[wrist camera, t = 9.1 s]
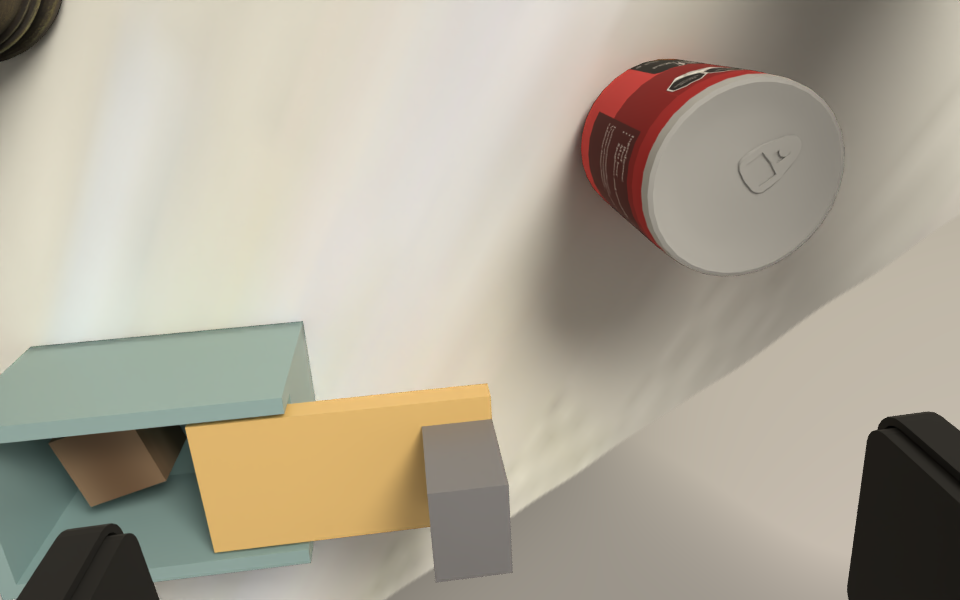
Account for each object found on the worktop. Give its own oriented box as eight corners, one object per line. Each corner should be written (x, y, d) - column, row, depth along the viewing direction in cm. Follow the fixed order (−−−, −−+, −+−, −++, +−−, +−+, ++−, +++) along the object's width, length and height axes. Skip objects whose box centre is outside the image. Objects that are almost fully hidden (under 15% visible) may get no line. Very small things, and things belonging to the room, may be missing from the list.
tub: (302, 321, 39) (281, 397, 31) (325, 462, 42) (310, 562, 35) (30, 346, 38) (-62, 432, 30) (75, 489, 41) (2, 600, 33)
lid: (487, 383, 34) (507, 458, 28) (493, 503, 36) (513, 595, 31) (191, 413, 33) (149, 499, 27) (219, 535, 35) (187, 637, 29)
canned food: (753, 115, 38) (887, 152, 28) (655, 237, 40) (747, 314, 30) (645, 23, 35) (747, 26, 25) (546, 157, 37) (605, 211, 27)
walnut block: (151, 377, 38) (126, 416, 35) (186, 437, 40) (166, 480, 36) (80, 401, 38) (48, 443, 35) (118, 461, 40) (90, 507, 36)
